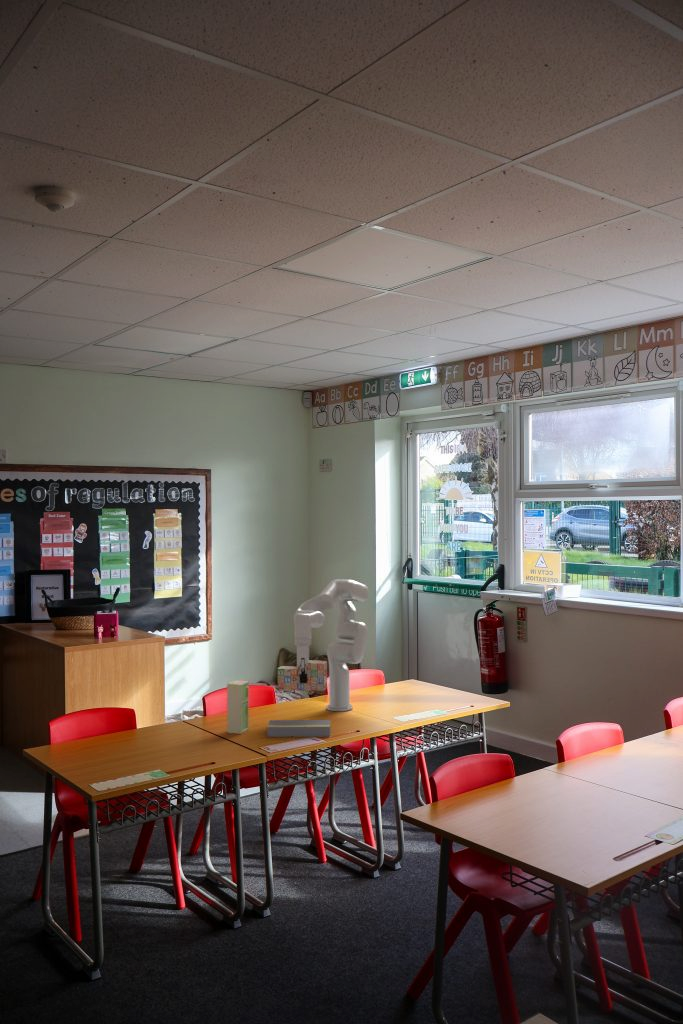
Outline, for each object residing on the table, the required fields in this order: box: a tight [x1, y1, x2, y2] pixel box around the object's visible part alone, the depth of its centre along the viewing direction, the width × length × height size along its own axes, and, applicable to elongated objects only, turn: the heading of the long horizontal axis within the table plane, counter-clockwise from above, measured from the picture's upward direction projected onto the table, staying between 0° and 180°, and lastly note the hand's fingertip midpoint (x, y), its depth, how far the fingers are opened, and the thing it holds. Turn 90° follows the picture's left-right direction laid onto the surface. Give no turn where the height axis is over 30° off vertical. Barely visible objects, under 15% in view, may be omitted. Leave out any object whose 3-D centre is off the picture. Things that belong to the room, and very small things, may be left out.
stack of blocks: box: [276, 659, 328, 692], centre depth 379 cm, size 21×6×12 cm, turn 78°
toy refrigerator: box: [226, 679, 250, 735], centre depth 365 cm, size 8×7×21 cm
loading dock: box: [266, 719, 331, 738], centre depth 362 cm, size 12×26×4 cm, turn 90°
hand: (303, 680), depth 378 cm, fingers closed on stack of blocks, 7 cm apart
